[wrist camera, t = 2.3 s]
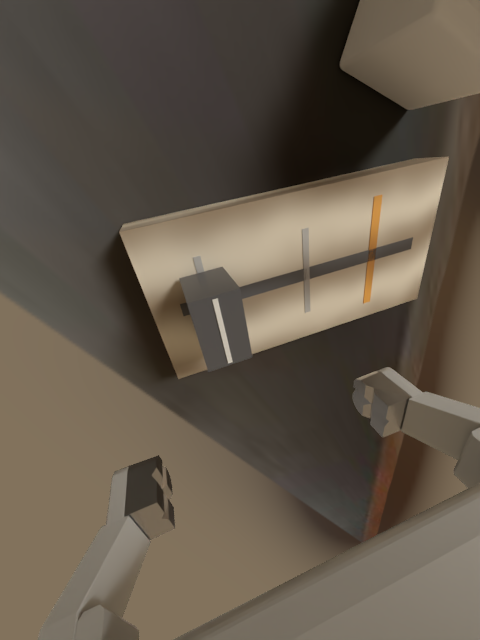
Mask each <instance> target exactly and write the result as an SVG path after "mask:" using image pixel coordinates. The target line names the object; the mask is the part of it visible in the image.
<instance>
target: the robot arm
mask: <svg viewBox="0 0 480 640" xmlns="http://www.w3.org/2000/svg"><path fill="white" fill-rule="evenodd" d="M354 387H355V388H356V390H355V391H354V393H353V402H354V404H355V407H356V408H357V410H358V411H359V412H360V413H361V414H362V415H363V416H365V417H368V418H370V424H371V425H372V427H373V428H374V429H375V430H376V431H377V432H378V433H379V434H380V435H381V436H382V437H385V436H387V435H390V434H392V433H395V432H397V431H400V430H401V431H402V432H404V433H406V434H408V435H409V436H411V437H414V438H416V439H418V440H419V441H422V442H424V443H425V444H427V445H429V446H431V447H433V448H435V449H437V450H439V451H441V452H443V453H445V454H447V455H449V456H451V457H453V458H455V459H457V460H458V462H457V464H456V466H455V468H454V475H455V476H456V477H457V478H459V480H460V481H461V482H462V483H464V484H465V485H466V486H467V487H468V489H467V490H464V491H463V492H460V493H459V494H457V495H455V496H453V497H451V498H449V499H447V500H445V501H443V502H441V503H439V504H437V505H435V506H433V507H431V508H429V509H427V510H426V511H423V512H421V513H419V514H418V515H416V516H414V517H412V518H410V519H408V520H406V521H404V522H402V523H400V524H398V525H396V526H394V527H392V528H390V529H388V530H386V531H385V532H382V533H381V534H379V535H377V536H375V537H373V538H371V539H369V540H367V541H365V542H363V543H361V544H359V545H357V546H355V547H353V548H351V549H349V550H347V551H345V552H344V553H341V554H340V555H338V556H336V557H334V558H332V559H330V560H328V561H326V562H324V563H322V564H320V565H318V566H316V567H314V568H312V569H310V570H308V571H306V572H304V573H302V574H301V575H299V576H297V577H295V578H293V579H291V580H289V581H287V582H285V583H283V584H281V585H279V586H277V587H275V588H273V589H271V590H269V591H267V592H265V593H264V594H261V595H260V596H258V597H256V598H254V599H252V600H250V601H248V602H246V603H244V604H242V605H240V606H238V607H236V608H234V609H232V610H230V611H229V612H227V613H224V614H222V615H220V616H219V617H217V618H215V619H213V620H211V621H209V622H207V623H205V624H203V625H201V626H199V627H197V628H195V629H193V630H191V631H189V632H187V633H185V634H183V635H181V636H180V637H178V638H176V639H174V640H480V408H478V407H474V406H471V405H468V404H465V403H462V402H458V401H455V400H451V399H448V398H445V397H442V396H439V395H435V394H432V393H429V392H424V393H423V392H421V391H420V390H419V389H418V388H416V387H415V386H414V385H412V384H411V383H410V382H408V381H407V380H406V379H405V378H403V377H402V376H401V375H399V374H398V373H397V372H395V371H394V370H393V369H391V368H389V367H386V368H383V369H381V370H378V371H375V372H372V373H370V374H367V375H365V376H362V377H360V378H357V379H356V380H355V381H354ZM171 496H172V484H171V479H170V475H169V473H168V470H167V468H166V467H163V466H162V460H161V458H160V457H159V455H158V456H156V457H153V458H150V459H147V460H145V461H142V462H139V463H136V464H134V465H131V466H128V467H125V468H123V469H120V470H118V471H115V472H114V474H113V477H112V483H111V490H110V498H109V507H108V515H107V521H106V525H104V526H102V527H101V528H100V530H99V532H98V533H97V535H96V537H95V539H94V540H93V542H92V544H91V545H90V547H89V549H88V550H87V552H86V554H85V555H84V557H83V559H82V560H81V562H80V564H79V565H78V567H77V569H76V570H75V572H74V574H73V576H72V577H71V579H70V581H69V582H68V584H67V586H66V587H65V589H64V591H63V593H62V594H61V596H60V598H59V599H58V601H57V603H56V604H55V606H54V608H53V609H52V611H51V613H50V614H49V616H48V618H47V619H46V621H45V623H44V624H43V626H42V628H41V630H40V633H39V637H38V640H139V630H138V629H137V628H136V627H135V626H134V625H132V624H131V623H129V622H127V621H126V620H124V619H122V617H123V614H124V612H125V609H126V606H127V603H128V601H129V598H130V595H131V593H132V590H133V588H134V585H135V582H136V579H137V577H138V574H139V572H140V569H141V566H142V563H143V561H144V558H145V555H146V553H147V550H148V547H149V545H150V540H151V539H153V538H155V537H158V536H160V535H162V534H164V533H166V532H168V531H170V530H173V529H175V523H174V507H173V506H172V504H171V502H170V501H169V500H170V498H171Z"/></svg>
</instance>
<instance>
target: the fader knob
mask: <svg viewBox="0 0 480 640" xmlns="http://www.w3.org/2000/svg"><path fill="white" fill-rule="evenodd" d="M179 279H180V283H181V286H182V289H183V293H184V296H185V299H186V302H187V306H188V309H189V312H190V315H191V318H192V322H193V325H194V328H195V331H196V334H197V338H198V341H199V344H200V347H201V350H202V354H203V357H204V360H205V363H206V366H207V370H208V372H210V371H213V370H216V369H219V368H222V367H225V366H228V365H231V364H234V363H237V362H240V361H243V360H246V359H249V358H252V351H251V346H250V340H249V335H248V329H247V323H246V318H245V312H244V307H243V301H242V296H241V290H240V287H239V286H238V285H237V284H236V282H235V281H234V280H233V279H232V278H231V276H230V275H229V274H228V273H227V271H226V270H225V269H224V268H223V267H219V268H215V269H212V270H208V271H204V272H201V273H197V274H193V275H190V276H186V277H182V278H179Z"/></svg>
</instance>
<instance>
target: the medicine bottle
mask: <svg viewBox="0 0 480 640" xmlns="http://www.w3.org/2000/svg"><path fill="white" fill-rule="evenodd" d="M340 68H341V69H342V70H343V71H345V72H346V73H348V74H349V75H351V76H353V77H354V78H356V79H358V80H359V81H361V82H363V83H364V84H366V85H367V86H369V87H371V88H372V89H374V90H376V91H377V92H379V93H381V94H382V95H384V96H386V97H387V98H389V99H390V100H392V101H394V102H395V103H397V104H399V105H400V106H402V107H404V108H405V109H407V110H413V109H417V108H421V107H425V106H429V105H433V104H437V103H441V102H445V101H449V100H453V99H458V98H462V97H466V96H470V95H474V94H478V93H480V0H360V1H359V4H358V7H357V10H356V14H355V17H354V20H353V23H352V26H351V29H350V32H349V35H348V38H347V41H346V44H345V47H344V51H343V54H342V57H341V60H340Z"/></svg>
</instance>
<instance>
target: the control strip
mask: <svg viewBox="0 0 480 640" xmlns="http://www.w3.org/2000/svg"><path fill="white" fill-rule="evenodd" d="M448 159H449V157H435V158H418V159H411V160H406V161H402V162H398V163H393V164H389V165H384V166H380V167H375V168H371V169H366V170H362V171H357V172H353V173H348V174H344V175H340V176H335V177H331V178H326V179H322V180H317V181H313V182H308V183H304V184H299V185H295V186H290V187H286V188H282V189H277V190H273V191H268V192H264V193H259V194H255V195H250V196H246V197H241V198H237V199H232V200H228V201H224V202H219V203H215V204H210V205H206V206H201V207H197V208H192V209H188V210H183V211H179V212H174V213H170V214H166V215H161V216H157V217H152V218H148V219H143V220H139V221H134V222H130V223H125V224H123V225H122V227H121V229H120V232H119V233H120V235H121V238H122V240H123V243H124V245H125V248H126V250H127V253H128V255H129V258H130V260H131V263H132V265H133V268H134V270H135V273H136V275H137V278H138V280H139V283H140V285H141V288H142V290H143V292H144V295H145V297H146V300H147V302H148V305H149V307H150V310H151V312H152V315H153V317H154V320H155V322H156V325H157V327H158V330H159V332H160V335H161V337H162V340H163V342H164V345H165V347H166V349H167V352H168V354H169V357H170V359H171V362H172V364H173V367H174V369H175V372H176V374H177V377H178V379H180V378H183V377H186V376H189V375H192V374H195V373H198V372H201V371H204V370H207V366H206V363H205V360H204V357H203V354H202V350H201V347H200V344H199V341H198V338H197V334H196V331H195V328H194V325H193V322H192V318H191V315H190V312H189V309H188V306H187V302H186V299H185V296H184V293H183V289H182V286H181V283H180V279H179V278H182V277H186V276H190V275H193V274H197V273H201V272H204V271H208V270H212V269H215V268H219V267H223V268H224V269H225V270H226V271H227V273H228V274H229V275H230V276H231V278H232V279H233V280H234V281H235V282H236V284H237V285H238V286H239V287H240V290H241V296H242V301H243V307H244V312H245V318H246V323H247V329H248V335H249V340H250V346H251V351H252V354H254V353H257V352H260V351H263V350H266V349H269V348H272V347H275V346H278V345H281V344H284V343H287V342H290V341H292V340H295V339H298V338H301V337H304V336H307V335H310V334H313V333H316V332H319V331H322V330H325V329H328V328H331V327H334V326H337V325H340V324H343V323H346V322H349V321H352V320H355V319H358V318H361V317H364V316H366V315H369V314H372V313H375V312H378V311H381V310H384V309H387V308H390V307H393V306H396V305H399V304H402V303H405V302H408V301H411V300H414V299H417V296H418V292H419V287H420V283H421V278H422V274H423V269H424V265H425V261H426V256H427V252H428V247H429V243H430V238H431V234H432V230H433V225H434V221H435V216H436V212H437V207H438V203H439V199H440V194H441V190H442V185H443V181H444V176H445V172H446V168H447V163H448Z"/></svg>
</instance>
